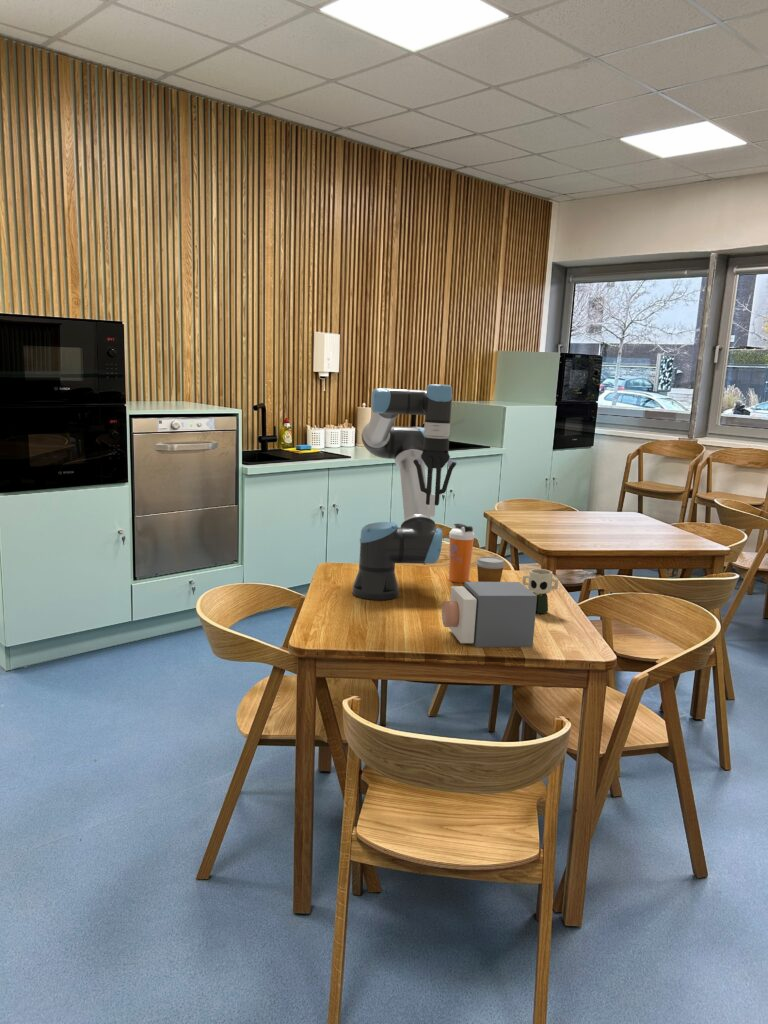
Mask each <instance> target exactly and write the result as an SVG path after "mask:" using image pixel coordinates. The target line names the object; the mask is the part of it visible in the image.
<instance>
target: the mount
mask: <svg viewBox="0 0 768 1024" xmlns="http://www.w3.org/2000/svg"><path fill="white" fill-rule="evenodd" d="M463 587H464V588H466V589H467V590H468V591H469V592H470V593H471V594H472V595H473V596H474V597H476V598H477V611H476V624H475V638H474V643H471V644H472V645H473V647H474V648H526V647H527V648H528V647H529V648H531V647H534V635H535V625H536V623H535V622H536V612H537V610H536V603H537V595H536V594H534V593H533V592H532V591H530V590H529V588H528V587H526V585H523V583H521V582H520V581H500V582H478V581H468V582H465V583H464V586H463Z"/></svg>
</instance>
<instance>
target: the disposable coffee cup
mask: <svg viewBox="0 0 768 1024" xmlns="http://www.w3.org/2000/svg"><path fill="white" fill-rule="evenodd" d="M475 564H476V566H477V582H501V580H502V577H503V576H502V575H503V570H504V567H505V566H506V565H505V561H504V559H503V558H500V557H496V556H479V557H477V560H476V561H475Z"/></svg>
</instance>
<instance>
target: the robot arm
mask: <svg viewBox="0 0 768 1024" xmlns="http://www.w3.org/2000/svg"><path fill="white" fill-rule="evenodd" d="M452 402H453V387H452V385H450V384H439V383H438V384H435V383H432V384H431V383H430V384H428V385H427V387H426V390H424V389H407V388H406V389H404V388H403V389H402V388H387V387H380V388H377V387H376V388H374V389H373V390H372V393H371V399H370V403H371V405H370V407H371V410H372V415H371V416H370V419H369V422H368V423H366V424H365V426H364V427H363V429H362V431H361V441H362V444H363V446H364V448H365V449H366V450H367V451H368V452H369V453H370V454H371V455H374V456H375V457H378V458H380V459H381V458H382V459H391V460H394V464H395V465H396V467H398V468H399V474H400V484H401V495H402V496H401V497H402V506H403V507H402V508H403V519H404V520H403V521H402V522H401V524H400V527H398V524H397V523H395V522H393V521H379V522H373V523H368V524H365V525H364V526H363V527H361V530H360V537H359V543H360V544H359V545H360V546H359V561H358V571H357V574H356V577H355V580H354V582H353V584H352V594H353V595H354V596H355V597H358V598H359V599H365V600H373V601H385V600H386V601H387V600H388V601H389V600H392V599H396V598H398V597H399V595H400V587H399V584H398V580H397V577H396V573H395V571H396V570H395V569H396V564H414V565H415V564H417V565H418V564H421V565H422V564H423V565H427V564H435V563H437V562H438V561H439V559H440V555H441V552H442V546H443V530H442V528H440V527H436V526H437V525H436V521H435V520H434V519H433V518H434V517H435V514H436V506H439V505H440V497H441V496H440V495H441V494H445V493H446V492H447V489H448V486H449V484H450V483H449V482H450V479H451V476H452V472H453V470H454V469H455V467H456V465H457V461H454V460H452V459H451V457H450V453H449V448H450V438H448V437H450V433H451V432H450V431H451V414H452V404H453V403H452ZM398 415H412V416H413V415H415V416H416V415H417V416H424V417H425V418H424V427H420V426H414V425H413V426H402V425H401V426H400V425H394V423H395V422H396V420H397V417H398ZM447 463H448V464H447ZM446 464H447V467H448V469H447V471H446V474H445V476H444V477H445V478H444V481H443V484H442V487H441V479H442V469H443V468H444V467H445V465H446ZM425 466H426V467H427V478H426V471H425V470H426V469H425ZM434 469H435V470H436V471H435V472H436V473H435V488H434V490H435V491H434V493H432V487H433V486H432V485H433V472H434ZM432 517H433V518H432Z"/></svg>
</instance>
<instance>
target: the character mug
mask: <svg viewBox="0 0 768 1024" xmlns="http://www.w3.org/2000/svg"><path fill="white" fill-rule="evenodd" d="M528 573H529V574H523V575H522V585H524V586H527V588H528V589H529V590H530V591H532V592H533V593H534V594H536V595H537V603H536V611H537V613H538V614H544V613H545V614H546V613H547V612H548V611H549V600H548V594H549V593H551V592H552V590H558V588H559V579H557V578H553V574H554V573H553V571H551V570H548V569H545V568H532V569H530V570H529V572H528ZM527 579H528V581H526V580H527ZM553 583H554V585H552V584H553Z"/></svg>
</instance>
